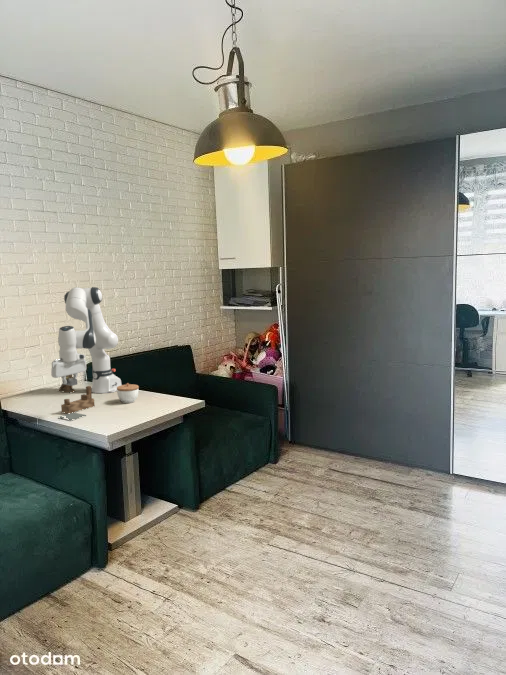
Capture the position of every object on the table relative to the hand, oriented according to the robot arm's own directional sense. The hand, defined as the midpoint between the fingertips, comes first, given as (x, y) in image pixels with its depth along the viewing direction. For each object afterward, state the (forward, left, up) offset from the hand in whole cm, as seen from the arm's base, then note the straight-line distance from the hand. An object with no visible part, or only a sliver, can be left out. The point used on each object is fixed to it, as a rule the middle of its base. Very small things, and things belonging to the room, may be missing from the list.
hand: (70, 382), depth 263 cm
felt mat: (0, 0, -19) cm, 19 cm away
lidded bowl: (-38, +4, -19) cm, 43 cm away
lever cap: (0, 0, -1) cm, 1 cm away
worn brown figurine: (-38, -50, -19) cm, 66 cm away
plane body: (-12, -9, -19) cm, 24 cm away
